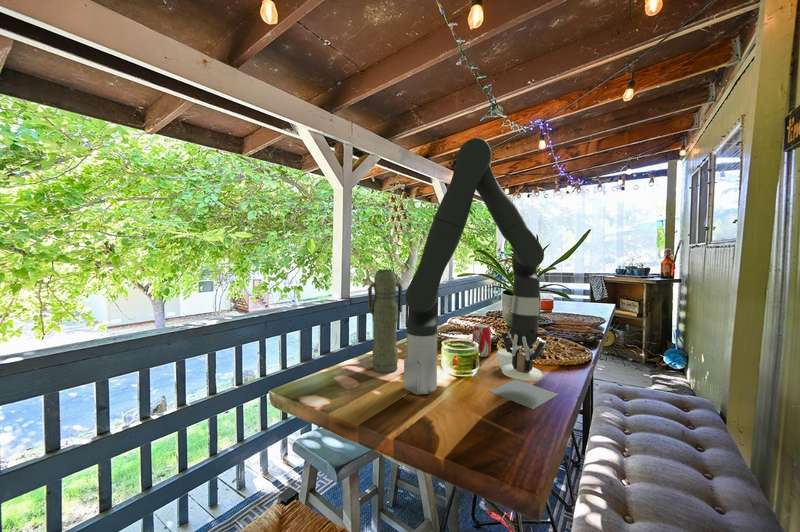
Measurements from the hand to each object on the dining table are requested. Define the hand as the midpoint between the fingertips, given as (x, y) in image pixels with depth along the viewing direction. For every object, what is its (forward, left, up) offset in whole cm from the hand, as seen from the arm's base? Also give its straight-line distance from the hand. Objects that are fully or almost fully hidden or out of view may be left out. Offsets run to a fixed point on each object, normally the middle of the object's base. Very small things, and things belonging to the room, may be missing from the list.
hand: (521, 369), depth 98 cm
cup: (+13, +14, -8) cm, 20 cm away
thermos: (-19, +42, -8) cm, 46 cm away
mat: (0, 0, -7) cm, 7 cm away
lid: (0, 0, -1) cm, 1 cm away
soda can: (+20, +30, -8) cm, 37 cm away
